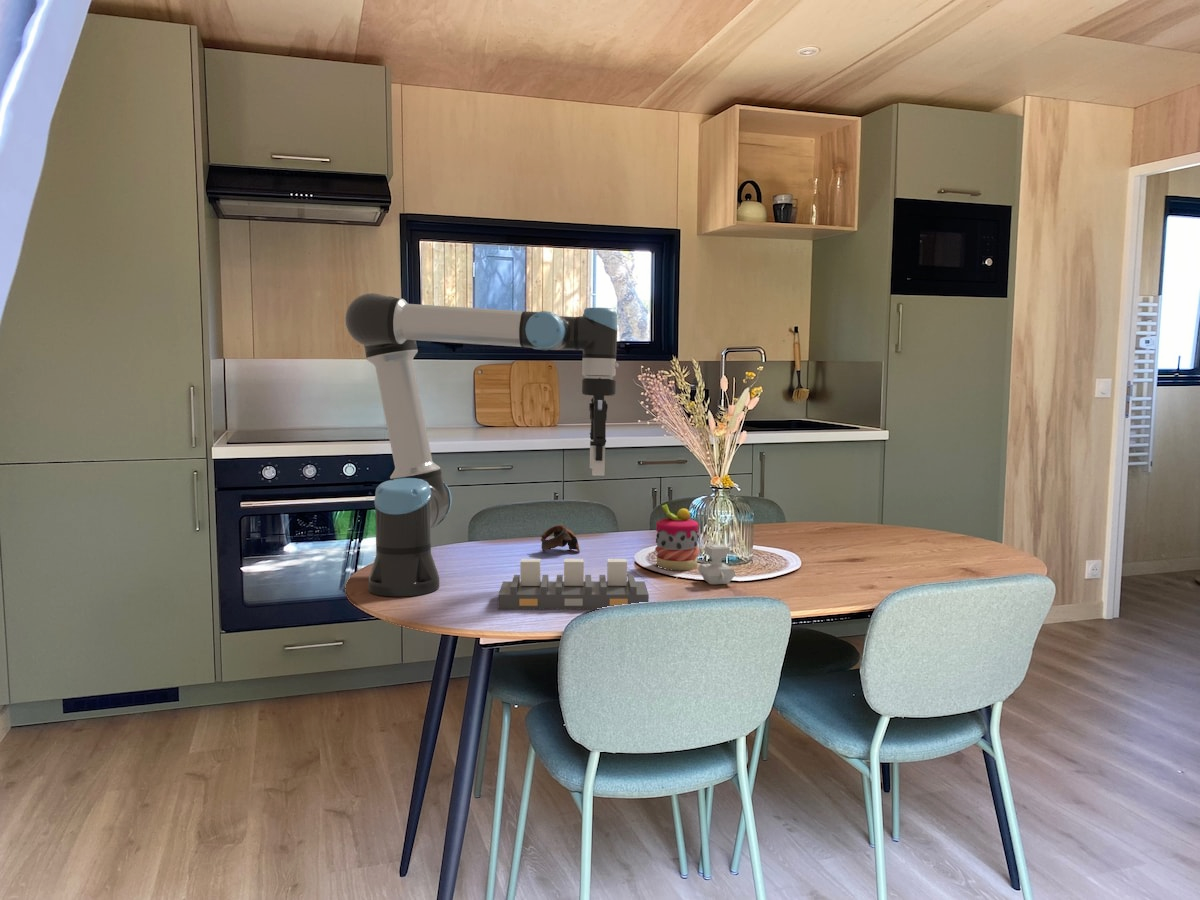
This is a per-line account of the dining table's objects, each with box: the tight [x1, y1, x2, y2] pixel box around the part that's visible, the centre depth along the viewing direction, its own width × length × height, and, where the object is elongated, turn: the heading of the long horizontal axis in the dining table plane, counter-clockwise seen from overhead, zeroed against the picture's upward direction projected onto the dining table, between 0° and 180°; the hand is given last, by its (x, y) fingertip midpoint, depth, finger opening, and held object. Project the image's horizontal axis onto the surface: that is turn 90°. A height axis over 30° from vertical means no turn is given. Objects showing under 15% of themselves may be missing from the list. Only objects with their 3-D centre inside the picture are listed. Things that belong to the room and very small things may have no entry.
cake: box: [654, 503, 700, 571], centre depth 217 cm, size 10×11×15 cm
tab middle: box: [563, 558, 585, 586], centre depth 185 cm, size 4×3×5 cm
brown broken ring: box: [540, 524, 581, 554], centre depth 234 cm, size 12×10×8 cm
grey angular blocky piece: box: [697, 544, 736, 586], centre depth 200 cm, size 9×7×8 cm
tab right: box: [606, 558, 628, 586], centre depth 186 cm, size 4×3×5 cm
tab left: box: [520, 558, 542, 586], centre depth 185 cm, size 4×3×5 cm
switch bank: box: [497, 574, 650, 610], centre depth 183 cm, size 30×11×4 cm, turn 91°
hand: (596, 471), depth 201 cm, fingers open, 13 cm apart
